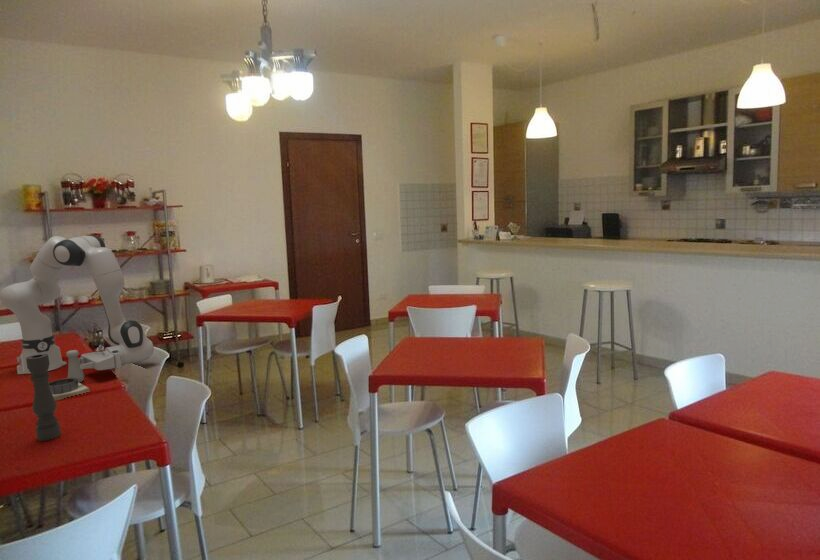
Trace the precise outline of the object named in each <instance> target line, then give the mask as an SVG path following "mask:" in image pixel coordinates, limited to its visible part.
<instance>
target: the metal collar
mask: <svg viewBox="0 0 820 560" xmlns="http://www.w3.org/2000/svg"><path fill="white" fill-rule="evenodd" d="M78 387H79V386H78V379H76V378H68V377H65V378H59V379H56V380H52V381H49V388H50V391H51V393H52V394H62V393H67V392H71V391H73V390H76V389H77V388H78Z"/></svg>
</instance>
